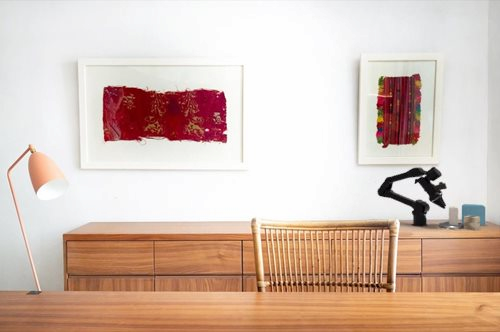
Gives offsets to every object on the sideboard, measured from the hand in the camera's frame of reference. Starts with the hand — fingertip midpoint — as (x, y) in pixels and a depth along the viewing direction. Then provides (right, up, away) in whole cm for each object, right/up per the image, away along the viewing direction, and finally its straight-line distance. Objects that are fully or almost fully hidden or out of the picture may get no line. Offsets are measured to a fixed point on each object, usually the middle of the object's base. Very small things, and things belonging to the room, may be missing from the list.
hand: (445, 207), depth 245 cm
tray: (+4, -11, -1) cm, 12 cm away
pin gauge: (+1, -10, -5) cm, 11 cm away
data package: (+21, -11, +9) cm, 25 cm away
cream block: (+4, -11, -1) cm, 12 cm away
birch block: (+12, -12, -7) cm, 18 cm away
